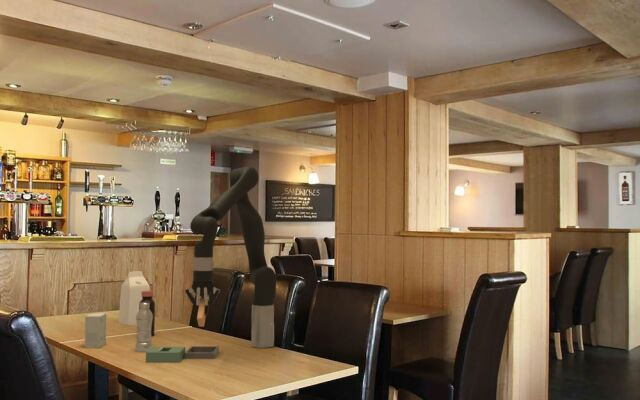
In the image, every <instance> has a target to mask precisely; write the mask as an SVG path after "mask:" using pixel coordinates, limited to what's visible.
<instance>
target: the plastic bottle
mask: <svg viewBox="0 0 640 400" xmlns="http://www.w3.org/2000/svg"><path fill="white" fill-rule="evenodd" d="M149 307H150V306H149V302H141V303H140V310H139V311H138V313H137V315H136V321H137V325H136V333H137V334H136V342H135V352H137V353H146V352H147V351H148V350H150V349H151V348H152V347H154V346H153V339H152V336H151V326H152V318H153V315H152V312H151V311H150V310H149Z"/></svg>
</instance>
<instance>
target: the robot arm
mask: <svg viewBox="0 0 640 400" xmlns="http://www.w3.org/2000/svg"><path fill="white" fill-rule="evenodd" d="M259 180H260V178H259V172H258V171H257V169H256V168H255V167H252V166H243V167H238V168H235V169H233V170H231V172H230V173H229V185H230V187H229V188H228V189H227V190H225V191H224V192H222V193H221V194H220V195H218V196H217V197H216V198H215V199H214V200H213V201H212V202H211V203H210V205H208V207H207V208H205V209H203V210H201V212H199V213H198V214H196V215H195V216H194V217H193V218H192V220H191V222H190V224H189V225H190V226H189V227H190V231H191V232H192V234H194V235H197V236H198V235H199V236H202V239H201V240H199V241H197V242H195V243H194V248H193V252H194V255H193V261H192V284H191V287H189V288H187V289H185V291H184V292H185V294H186V295H187V297H188V299H189V301H190V302H191V304H192V305H196V306H195V307H196V310H195V311H196V312H195V313H196V314H197V315H198V310H199V304H200V299H201V298H202V297H203V298H204V300H205V315H206V316H207V315H208V314H209V306H210V305H211V304H213V303H214V302H215V301H216V299H217V297H218V295H219V293H220V292H221V289H219V288H216V287H215V284H214V244H215V241H216V238H217V235H218V229H219V224H218V222H219V221H221V220H222V219H223V218H224V217H226V215H227V213H228V212H229V211H230V209H232V207H234V206H235V205H236V209H237V213H238V216H239V217H238V218H239V223H240V229H241V234H242V238H243V242H244V246H245V250H246V254H247V260H248V268H249V269H248V270H249V278H250V282H251V283H252V285H253V286H254V294H253V297H252V298H251V339H250V340H251V347H253V348H259V349H265V348H273V347H274V346H275V322H274V321H275V319H274V318H275V316H274V315H275V299H276V292H277V276H276V275H277V274H276V272H275V270H274V269H273V268H271V267H270V266H268V264H267V260H266V256H265V255H266V254H265V239H266V238H265V237H266V236H265V235H266V234H265V228H264V223H263V219H262V216H261V215H260V213H259V212H258V210H257V208H255V207H254V205H253V204H252V203H251V201H250V198H249V195H248V192H250V191H251V190H253V189H254V188H255V187H256V186H257V185H258V183H259ZM193 292H194V294H195V295H196V299H195V297H194V294H193ZM212 292H213V295H212V297H211V298H210V294H211V293H212Z"/></svg>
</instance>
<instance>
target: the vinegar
mask: <svg viewBox="0 0 640 400" xmlns="http://www.w3.org/2000/svg"><path fill="white" fill-rule="evenodd" d="M153 297H154V291H153V290H150V291H142V300H141V301H140V302H139V310H140V303H141V302H149V306H150V307H149V310H150V311H151V312H152V315H153V318H152V326H151V337H153V336H155V323H156V321H155V318H156V317H155V314H156V310H155V309H156V308H155V307H156V302H155V301H154V299H153Z"/></svg>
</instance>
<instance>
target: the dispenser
mask: <svg viewBox="0 0 640 400" xmlns="http://www.w3.org/2000/svg"><path fill="white" fill-rule="evenodd" d="M185 352H186V346H163V345H162V346H153V347H152V348H151V349H150V350H148V351H147V352H145V363H153V364H154V363H161V364H163V363H164V364H165V363H181V362H182V360H183V359H184V353H185Z"/></svg>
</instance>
